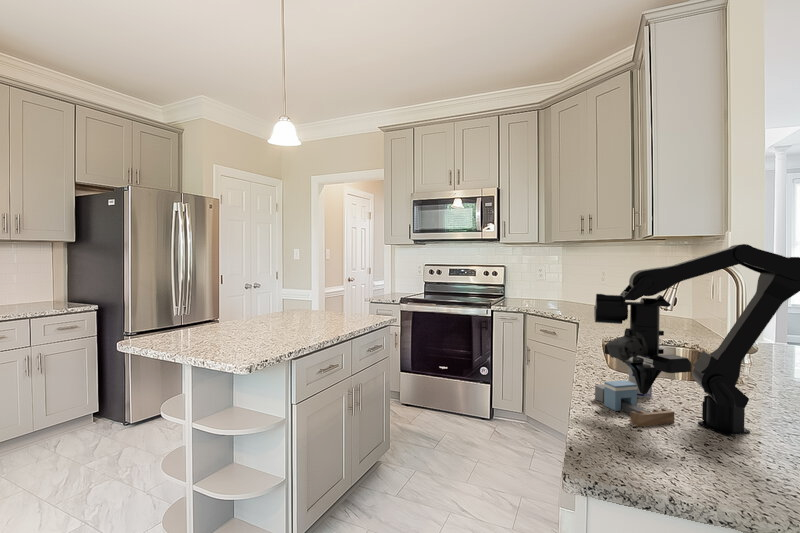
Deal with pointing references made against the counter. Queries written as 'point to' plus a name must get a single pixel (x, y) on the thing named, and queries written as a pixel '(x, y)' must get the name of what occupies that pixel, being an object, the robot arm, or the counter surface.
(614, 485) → the counter surface
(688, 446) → the counter surface
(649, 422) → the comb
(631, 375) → the energy drink
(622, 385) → the sleeve
